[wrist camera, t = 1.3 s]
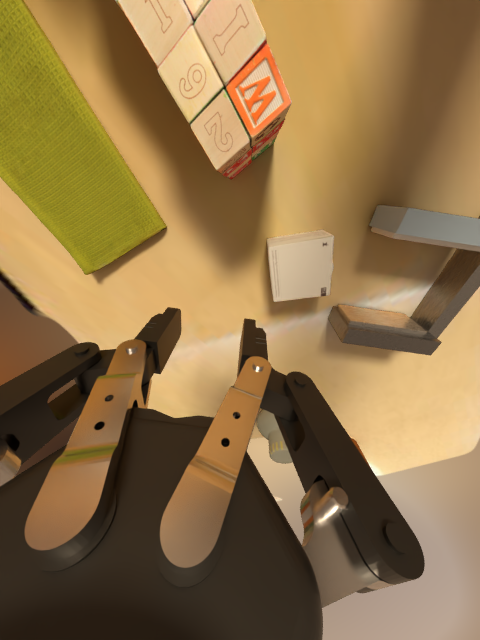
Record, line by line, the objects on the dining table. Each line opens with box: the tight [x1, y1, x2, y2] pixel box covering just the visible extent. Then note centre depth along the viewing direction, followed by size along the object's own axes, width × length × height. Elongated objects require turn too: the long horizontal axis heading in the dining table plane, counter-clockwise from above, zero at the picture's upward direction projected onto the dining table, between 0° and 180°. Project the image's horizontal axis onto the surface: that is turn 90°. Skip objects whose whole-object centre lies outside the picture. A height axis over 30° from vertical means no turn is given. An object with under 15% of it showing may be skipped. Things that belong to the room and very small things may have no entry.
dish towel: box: [0, 0, 167, 275], centre depth 22 cm, size 15×36×3 cm, turn 27°
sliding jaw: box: [369, 205, 480, 252], centre depth 24 cm, size 3×12×6 cm, turn 83°
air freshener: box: [257, 409, 293, 464], centre depth 45 cm, size 11×8×10 cm
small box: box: [267, 229, 334, 302], centre depth 28 cm, size 8×8×5 cm
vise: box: [328, 216, 480, 355], centre depth 27 cm, size 19×15×7 cm
